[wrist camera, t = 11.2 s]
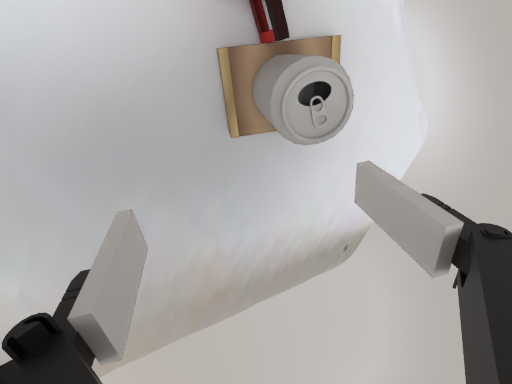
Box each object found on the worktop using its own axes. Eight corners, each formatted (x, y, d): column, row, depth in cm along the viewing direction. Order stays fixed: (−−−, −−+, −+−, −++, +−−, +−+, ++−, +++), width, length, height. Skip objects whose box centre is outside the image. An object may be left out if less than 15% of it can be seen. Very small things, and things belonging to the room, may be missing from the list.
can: (306, 45, 31) (359, 43, 20) (316, 109, 35) (365, 136, 24) (243, 65, 31) (264, 72, 20) (260, 127, 34) (285, 162, 24)
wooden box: (228, 131, 37) (231, 138, 34) (216, 48, 32) (218, 48, 29) (326, 117, 38) (336, 122, 35) (329, 36, 34) (341, 34, 31)
